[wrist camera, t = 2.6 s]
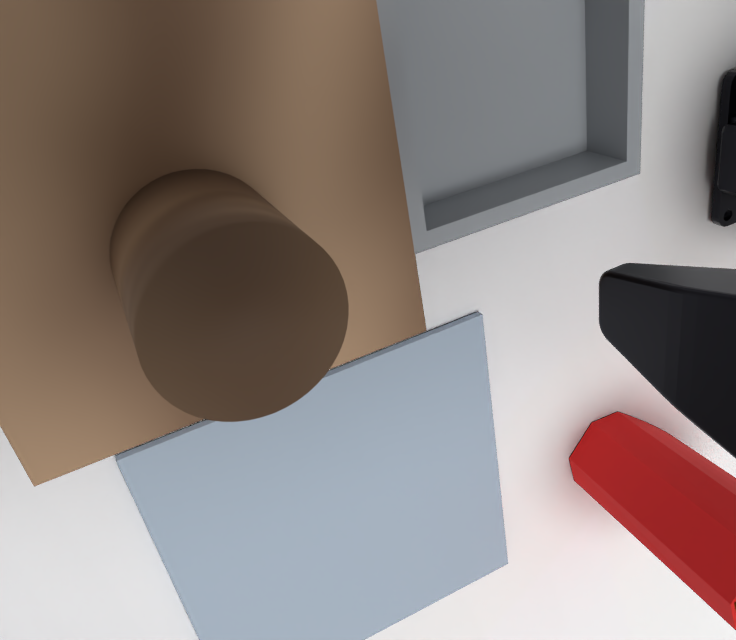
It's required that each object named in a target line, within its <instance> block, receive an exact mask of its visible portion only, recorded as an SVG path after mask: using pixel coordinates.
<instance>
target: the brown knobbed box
mask: <svg viewBox="0 0 736 640" xmlns="http://www.w3.org/2000/svg"><path fill="white" fill-rule="evenodd" d="M425 331H426V324H425V317H424V311H423V304H422V298H421V291H420V285H419V278H418V271H417V265H416V258H415V252H414V245H413V239H412V232H411V225H410V219H409V212H408V206H407V199H406V193H405V186H404V179H403V173H402V166H401V160H400V153H399V147H398V140H397V133H396V127H395V120H394V114H393V107H392V101H391V94H390V87H389V81H388V74H387V68H386V61H385V55H384V48H383V41H382V35H381V28H380V22H379V15H378V9H377V2H376V0H0V426H1V428H2V430H3V432H4V433H5V435H6V437H7V439H8V441H9V442H10V444H11V446H12V448H13V450H14V451H15V453H16V455H17V457H18V458H19V460H20V462H21V464H22V466H23V467H24V469H25V471H26V473H27V475H28V476H29V478H30V480H31V482H32V484H33V485H34V486H37V485H39V484H42V483H44V482H47V481H49V480H52V479H54V478H57V477H59V476H62V475H64V474H67V473H70V472H72V471H75V470H77V469H80V468H82V467H85V466H87V465H90V464H92V463H95V462H97V461H100V460H102V459H105V458H107V457H110V456H112V455H115V454H117V453H120V452H122V451H125V450H127V449H130V448H133V447H135V446H138V445H140V444H143V443H145V442H148V441H150V440H153V439H155V438H158V437H160V436H163V435H165V434H168V433H170V432H173V431H175V430H178V429H180V428H183V427H185V426H188V425H190V424H193V423H195V422H198V421H201V420H203V419H207V420H212V421H220V422H239V421H248V420H253V419H257V418H261V417H264V416H267V415H270V414H273V413H276V412H278V411H280V410H282V409H284V408H286V407H288V406H290V405H291V404H293V403H295V402H296V401H298V400H299V399H301V398H302V397H303V396H304V395H306V394H307V393H308V392H309V391H311V390H312V389H313V388H314V387H315V386H316V385H317V384H318V383H319V382H320V381H321V379H322V378H323V377H324V376H325V375H326V373H327V372H328V371H329V369H332V368H334V367H337V366H339V365H342V364H344V363H347V362H349V361H352V360H354V359H357V358H359V357H362V356H364V355H367V354H369V353H372V352H374V351H377V350H379V349H382V348H384V347H387V346H389V345H392V344H394V343H397V342H400V341H402V340H405V339H407V338H410V337H412V336H415V335H417V334H420V333H422V332H425Z"/></svg>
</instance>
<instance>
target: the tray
mask: <svg viewBox="0 0 736 640" xmlns="http://www.w3.org/2000/svg"><path fill="white" fill-rule="evenodd" d="M644 1H645V0H376V2H377V9H378V15H379V22H380V28H381V35H382V41H383V48H384V55H385V61H386V68H387V74H388V81H389V87H390V94H391V101H392V107H393V114H394V120H395V127H396V133H397V140H398V147H399V153H400V160H401V166H402V173H403V179H404V186H405V193H406V199H407V206H408V212H409V219H410V225H411V232H412V239H413V245H414V252H415V254H417V253H419V252H422V251H425V250H428V249H431V248H433V247H436V246H439V245H442V244H445V243H447V242H450V241H453V240H456V239H458V238H461V237H464V236H467V235H470V234H472V233H475V232H478V231H481V230H484V229H486V228H489V227H492V226H495V225H498V224H500V223H503V222H506V221H509V220H512V219H514V218H517V217H520V216H523V215H525V214H528V213H531V212H534V211H537V210H539V209H542V208H545V207H548V206H551V205H553V204H556V203H559V202H562V201H565V200H567V199H570V198H573V197H576V196H579V195H581V194H584V193H587V192H590V191H593V190H595V189H598V188H601V187H604V186H606V185H609V184H612V183H615V182H618V181H620V180H623V179H626V178H629V177H632V176H634V175H637V174H640V158H641V119H642V80H643V40H644Z"/></svg>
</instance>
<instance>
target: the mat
mask: <svg viewBox="0 0 736 640" xmlns="http://www.w3.org/2000/svg"><path fill="white" fill-rule="evenodd" d="M115 458H116V462H117V464H118V466H119V468H120V471H121V473H122V475H123V477H124V479H125V481H126V483H127V486H128V488H129V490H130V492H131V494H132V496H133V498H134V501H135V503H136V505H137V507H138V509H139V511H140V513H141V516H142V518H143V520H144V522H145V524H146V526H147V528H148V531H149V533H150V535H151V537H152V539H153V541H154V543H155V546H156V548H157V550H158V552H159V554H160V556H161V558H162V561H163V563H164V565H165V567H166V569H167V571H168V573H169V576H170V578H171V580H172V582H173V584H174V586H175V588H176V591H177V593H178V595H179V597H180V599H181V601H182V603H183V606H184V608H185V610H186V612H187V614H188V616H189V618H190V621H191V623H192V625H193V627H194V629H195V631H196V633H197V636H198V638H199V640H365V639H367V638H369V637H370V636H372V635H374V634H376V633H378V632H380V631H382V630H384V629H386V628H387V627H389V626H391V625H393V624H395V623H397V622H399V621H401V620H403V619H404V618H406V617H408V616H410V615H412V614H414V613H416V612H418V611H420V610H421V609H423V608H425V607H427V606H429V605H431V604H433V603H435V602H437V601H438V600H440V599H442V598H444V597H446V596H448V595H450V594H452V593H454V592H455V591H457V590H459V589H461V588H463V587H465V586H467V585H469V584H471V583H472V582H474V581H476V580H478V579H480V578H482V577H484V576H486V575H488V574H489V573H491V572H493V571H495V570H497V569H499V568H501V567H503V566H504V565H506V564H508V558H507V548H506V539H505V529H504V519H503V510H502V500H501V490H500V481H499V471H498V461H497V452H496V442H495V432H494V423H493V413H492V403H491V394H490V384H489V374H488V365H487V355H486V345H485V336H484V326H483V316H482V314H481V313H479V312H476V313H473V314H471V315H468V316H466V317H463V318H461V319H458V320H456V321H453V322H451V323H448V324H446V325H443V326H441V327H438V328H436V329H433V330H431V331H428V332H426V333H423V334H421V335H418V336H415V337H413V338H410V339H408V340H405V341H403V342H400V343H398V344H395V345H393V346H390V347H388V348H385V349H383V350H380V351H378V352H375V353H373V354H370V355H368V356H365V357H363V358H360V359H358V360H355V361H353V362H350V363H348V364H345V365H343V366H340V367H338V368H335V369H332V370H330V371H328V372H327V373H326V375H325V376H324V377H323V378H322V379H321V381H320V382H319V383H318V384H317V385H316V386H315V387H314V388H313V389H312V390H311V391H309V392H308V393H307V394H306V395H304V396H303V397H302V398H301V399H299V400H298V401H296V402H295V403H293V404H291V405H290V406H288V407H286V408H284V409H282V410H280V411H278V412H276V413H273V414H270V415H267V416H264V417H261V418H257V419H253V420H248V421H239V422H220V421H212V420H204V421H202V422H199V423H197V424H194V425H192V426H189V427H187V428H184V429H182V430H179V431H177V432H174V433H172V434H169V435H166V436H164V437H161V438H159V439H156V440H154V441H151V442H149V443H146V444H144V445H141V446H139V447H136V448H134V449H131V450H129V451H126V452H124V453H121V454H119V455H116V456H115Z"/></svg>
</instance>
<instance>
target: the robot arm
mask: <svg viewBox="0 0 736 640" xmlns="http://www.w3.org/2000/svg"><path fill="white" fill-rule="evenodd" d="M711 217H712V221H713V223H715V224H717V225H720V226H723V227H725V226H728V225H731V224H733V223H736V69H733V70H731V71H729V72H728V73H727V75H726V76H725V78H724V80H723V84H722V93H721V105H720V118H719V130H718V142H717V154H716V167H715V179H714V191H713V204H712V216H711ZM599 324H600V328H601V331H602V333H603V334H604V336H605V338H606V339H607V340H608V341H609V342H610V343H611V344H612V345H613V346H614V347H615V348H616V349H617V350H618V351H619V352H620V353H621V354H622V355H623V356H624V357H625V358H626V359H627V360H628V361H629V362H630V363H631V364H632V365H633V366H634V367H635V368H636V369H637V370H638V371H639V372H640V373H641V374H642V375H643V376H644V377H645V378H646V379H647V380H648V381H649V382H650V383H651V384H652V385H653V386H654V387H655V388H656V389H657V390H658V391H659V392H660V393H661V394H662V395H663V396H664V397H665V398H666V399H667V400H668V401H669V402H670V403H671V404H672V405H673V406H674V407H675V408H676V409H677V410H678V411H680V412H681V413H682V414H683V415H684V416H685V417H686V418H688V419H689V420H690V421H691V422H692V423H694V424H695V425H696V426H697V427H698V428H700V429H701V430H702V431H703V432H704V433H706V434H707V435H708V436H709V437H710V438H712V439H713V440H714V441H715V442H717V443H718V444H719V445H720V446H721V447H723V448H724V449H725V450H726V451H727V452H729V453H730V454H731V455H732V456H733V457H735V458H736V269H724V268H707V267H690V266H673V265H656V264H639V263H626V264H622V265H620V266H618V267H615V268H613V269H610V270H608V271H606V272H604V273H603V274H602V276H601V278H600V281H599Z"/></svg>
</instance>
